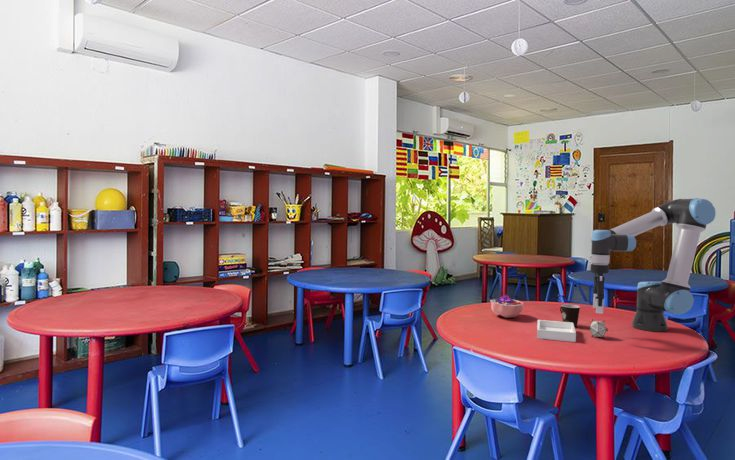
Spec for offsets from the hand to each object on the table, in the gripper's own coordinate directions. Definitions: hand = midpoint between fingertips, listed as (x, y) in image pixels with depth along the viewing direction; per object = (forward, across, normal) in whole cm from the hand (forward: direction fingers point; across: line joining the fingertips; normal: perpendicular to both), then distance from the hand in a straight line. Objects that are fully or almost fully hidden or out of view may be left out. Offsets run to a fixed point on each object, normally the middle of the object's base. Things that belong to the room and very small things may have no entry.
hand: (597, 310), depth 222 cm
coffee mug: (+12, -20, -10) cm, 26 cm away
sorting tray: (+12, +2, -18) cm, 22 cm away
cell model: (+13, -28, -42) cm, 52 cm away
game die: (+12, 0, 0) cm, 13 cm away
